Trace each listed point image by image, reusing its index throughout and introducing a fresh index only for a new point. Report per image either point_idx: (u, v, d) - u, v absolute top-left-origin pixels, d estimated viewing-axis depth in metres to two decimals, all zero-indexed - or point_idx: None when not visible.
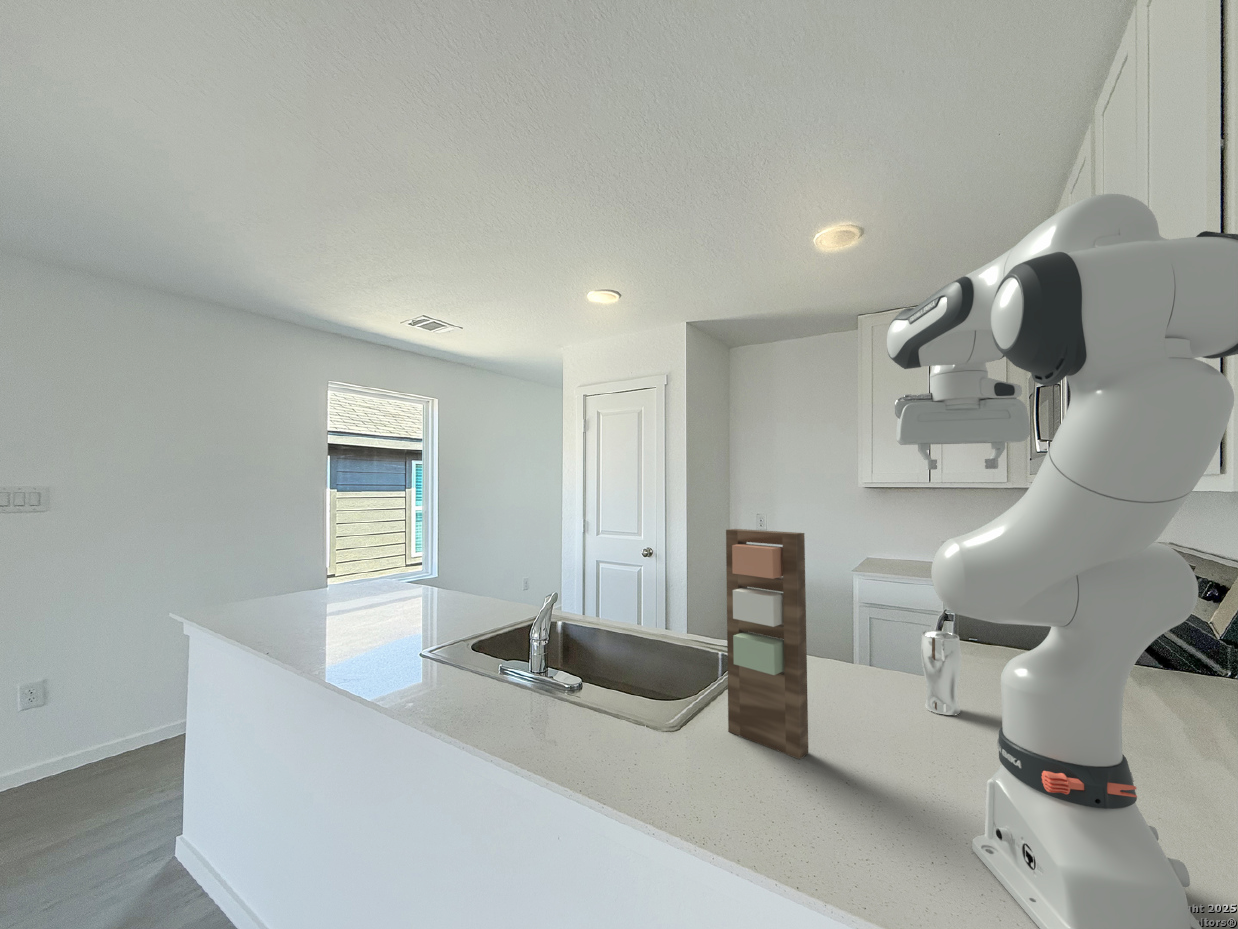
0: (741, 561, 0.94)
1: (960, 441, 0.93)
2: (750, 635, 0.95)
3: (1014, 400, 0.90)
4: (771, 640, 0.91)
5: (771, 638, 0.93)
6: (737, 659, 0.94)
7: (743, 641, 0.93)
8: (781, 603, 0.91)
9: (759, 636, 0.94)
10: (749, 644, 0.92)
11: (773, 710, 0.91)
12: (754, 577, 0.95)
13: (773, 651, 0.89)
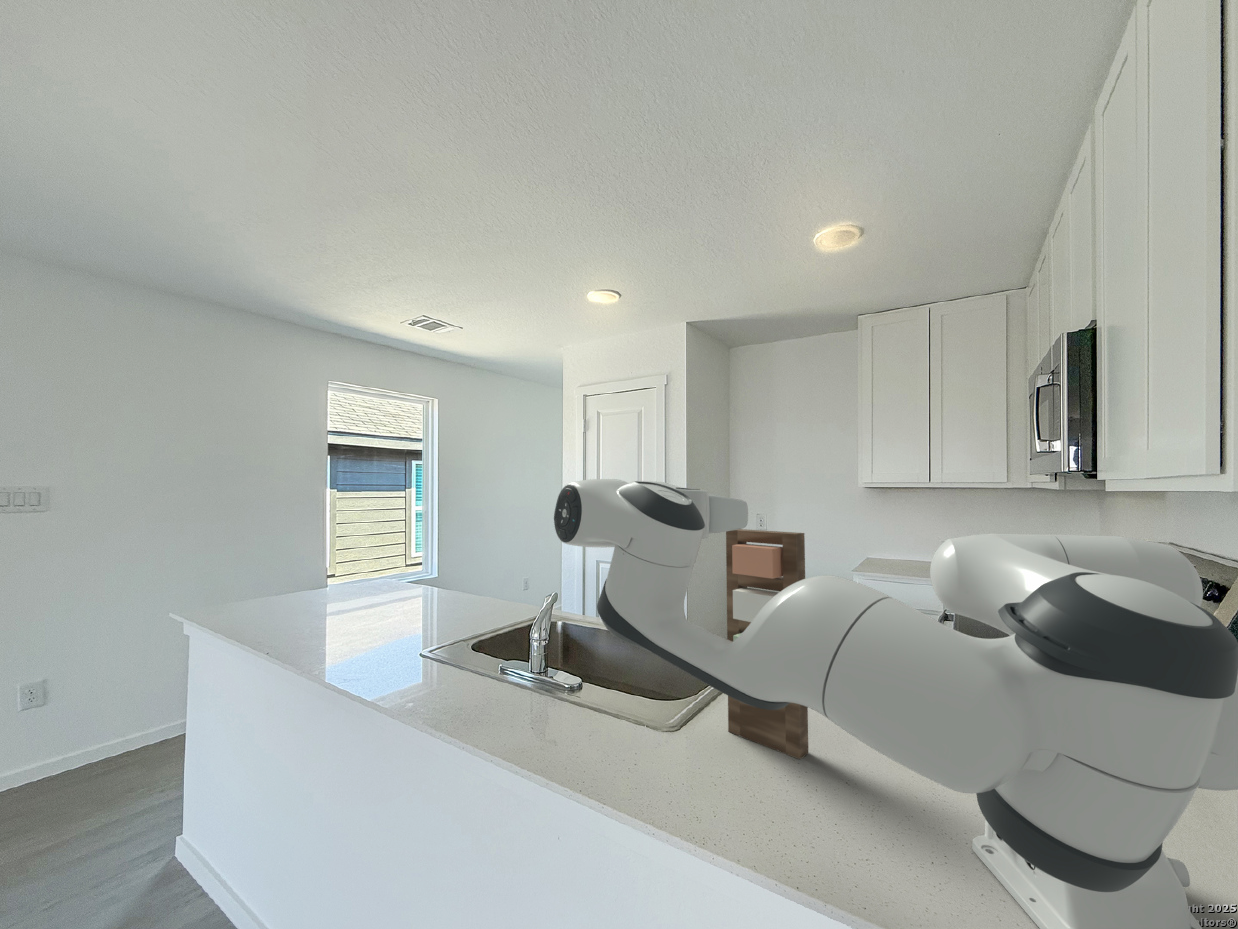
0: (741, 561, 0.94)
1: None
2: None
3: None
4: None
5: None
6: None
7: None
8: None
9: None
10: None
11: (773, 710, 0.91)
12: (754, 577, 0.95)
13: None
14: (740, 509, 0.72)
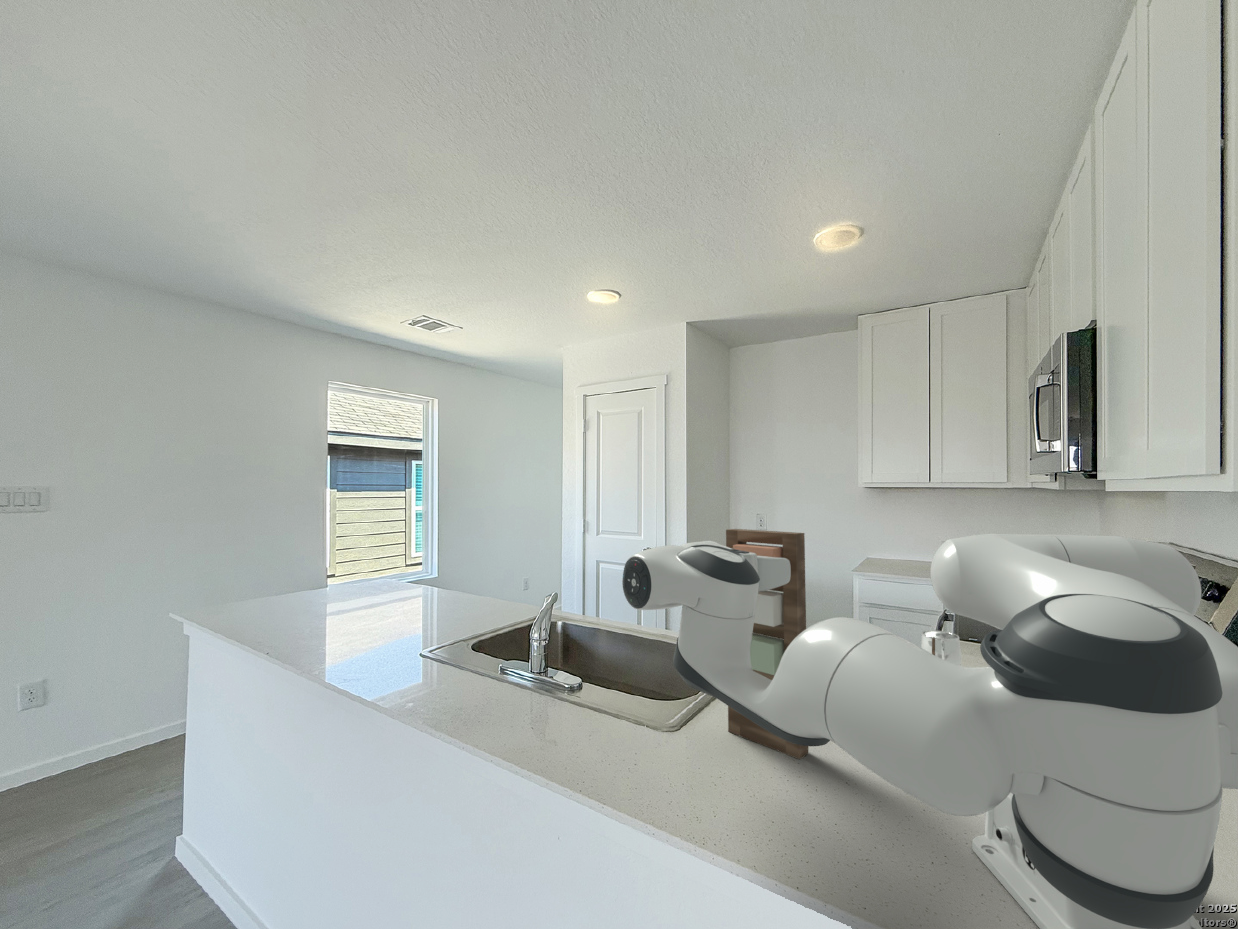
0: None
1: None
2: None
3: None
4: (771, 640, 0.91)
5: (771, 638, 0.93)
6: None
7: None
8: (781, 603, 0.91)
9: (759, 636, 0.94)
10: None
11: None
12: None
13: (773, 651, 0.89)
14: (784, 567, 0.80)
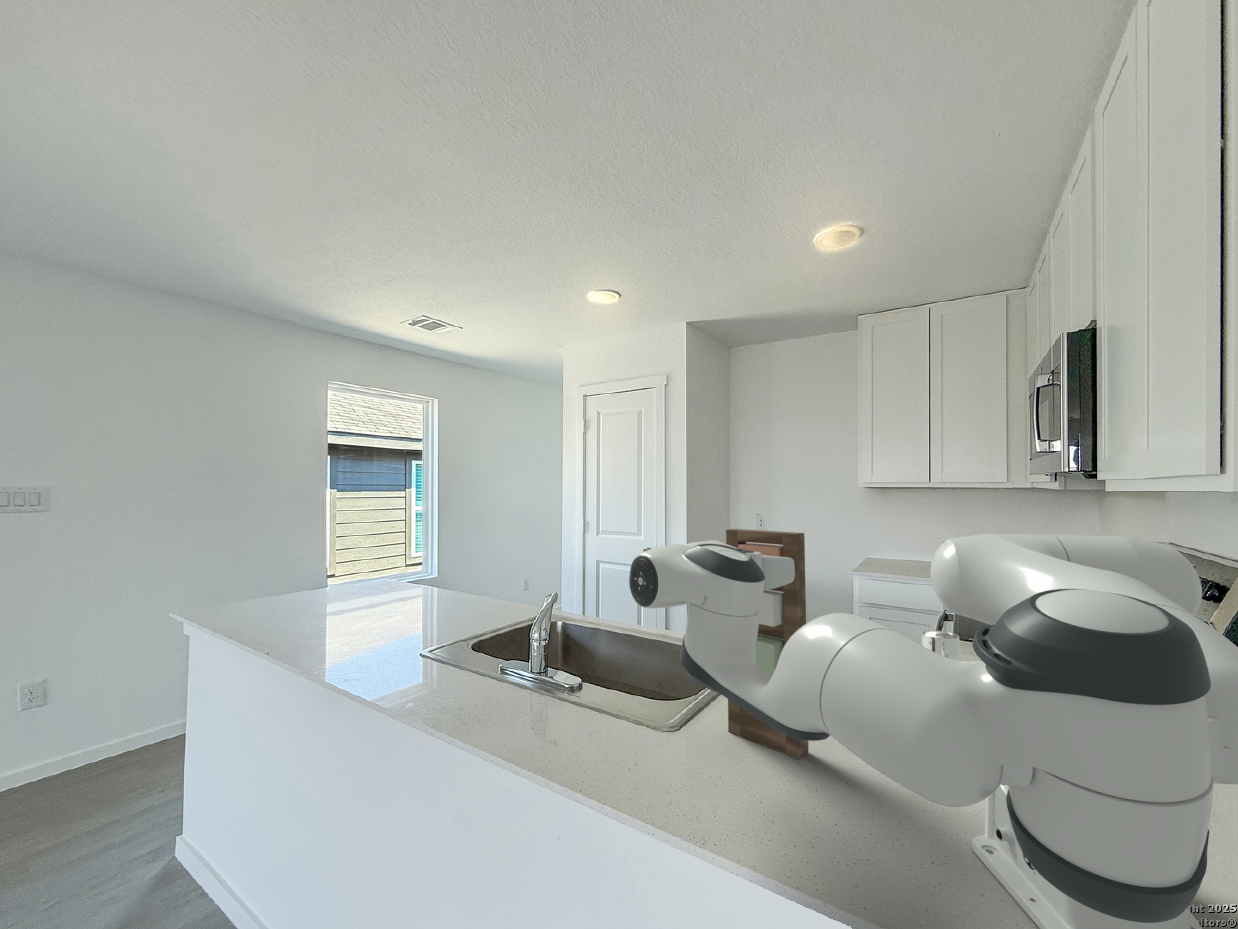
0: None
1: None
2: None
3: None
4: (771, 640, 0.91)
5: (771, 638, 0.93)
6: None
7: None
8: (781, 603, 0.91)
9: (759, 636, 0.94)
10: None
11: None
12: None
13: (773, 651, 0.89)
14: (788, 566, 0.81)
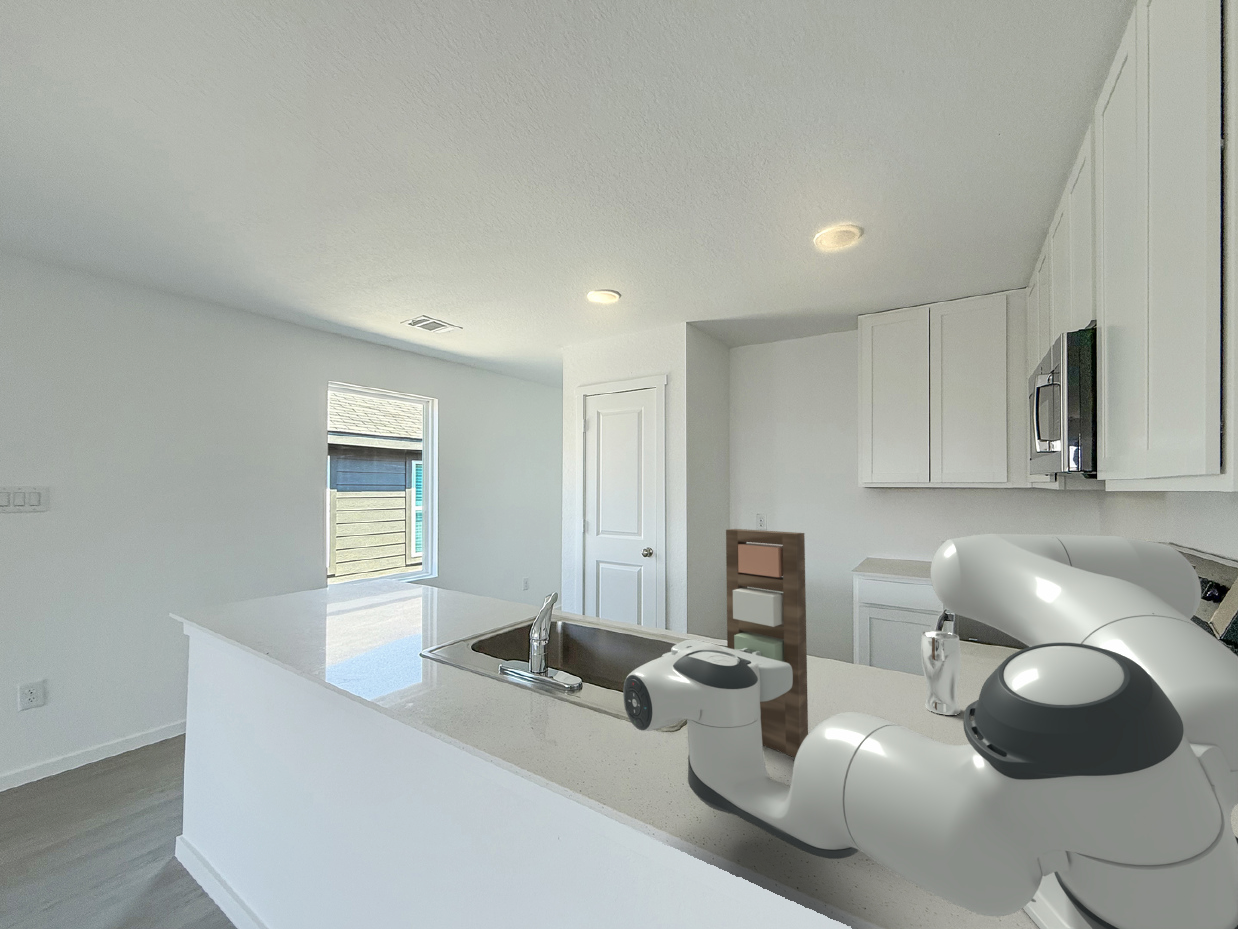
0: (747, 560, 0.95)
1: None
2: (751, 635, 0.95)
3: None
4: (772, 640, 0.92)
5: (772, 638, 0.93)
6: None
7: (744, 641, 0.93)
8: (781, 603, 0.91)
9: (760, 636, 0.94)
10: (750, 644, 0.92)
11: (773, 710, 0.91)
12: (754, 577, 0.95)
13: (774, 651, 0.89)
14: (786, 675, 0.80)
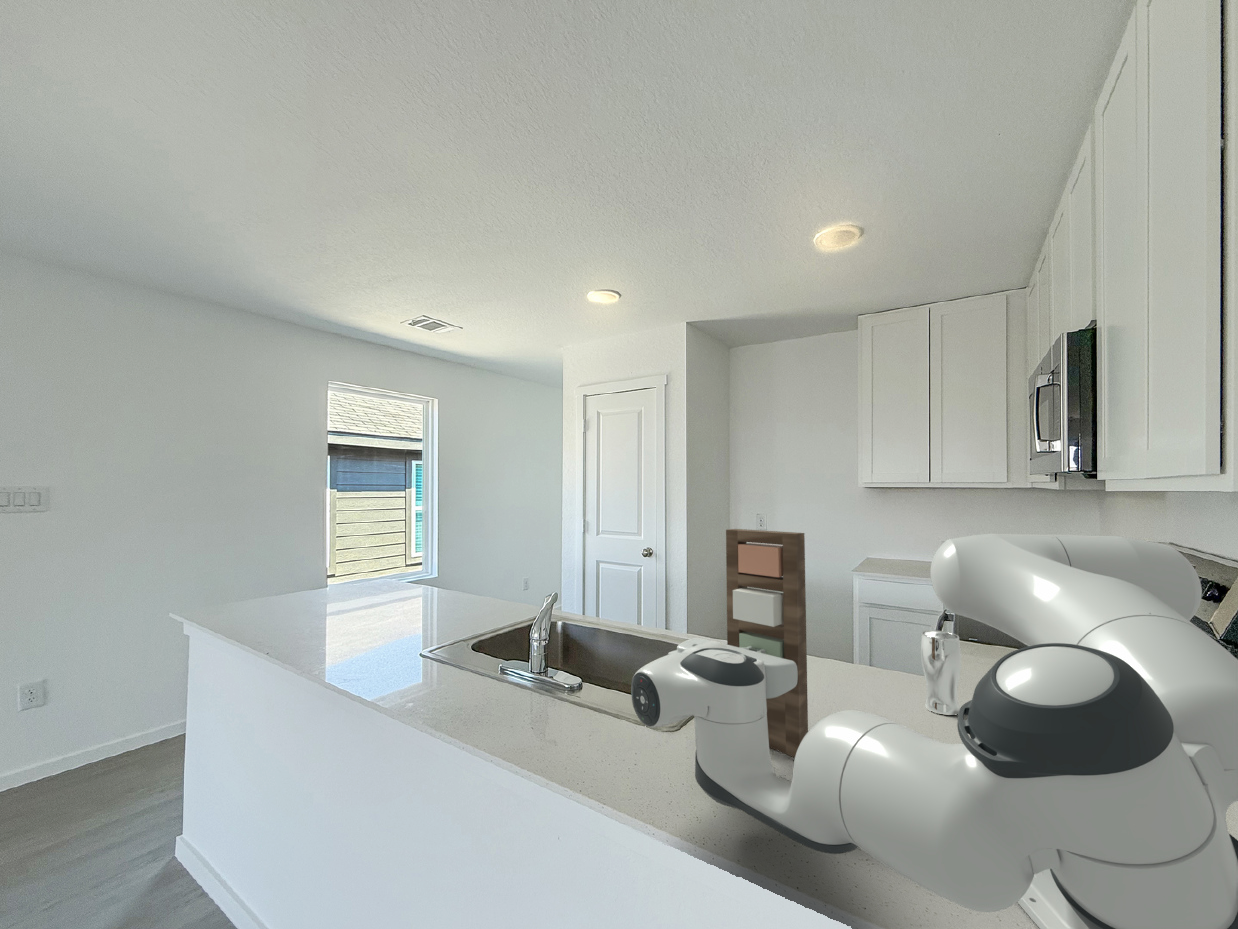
0: (747, 560, 0.95)
1: None
2: None
3: None
4: (776, 638, 0.93)
5: None
6: None
7: (749, 639, 0.94)
8: (781, 603, 0.91)
9: None
10: (755, 642, 0.93)
11: (773, 710, 0.91)
12: (754, 577, 0.95)
13: (779, 649, 0.90)
14: (791, 672, 0.81)
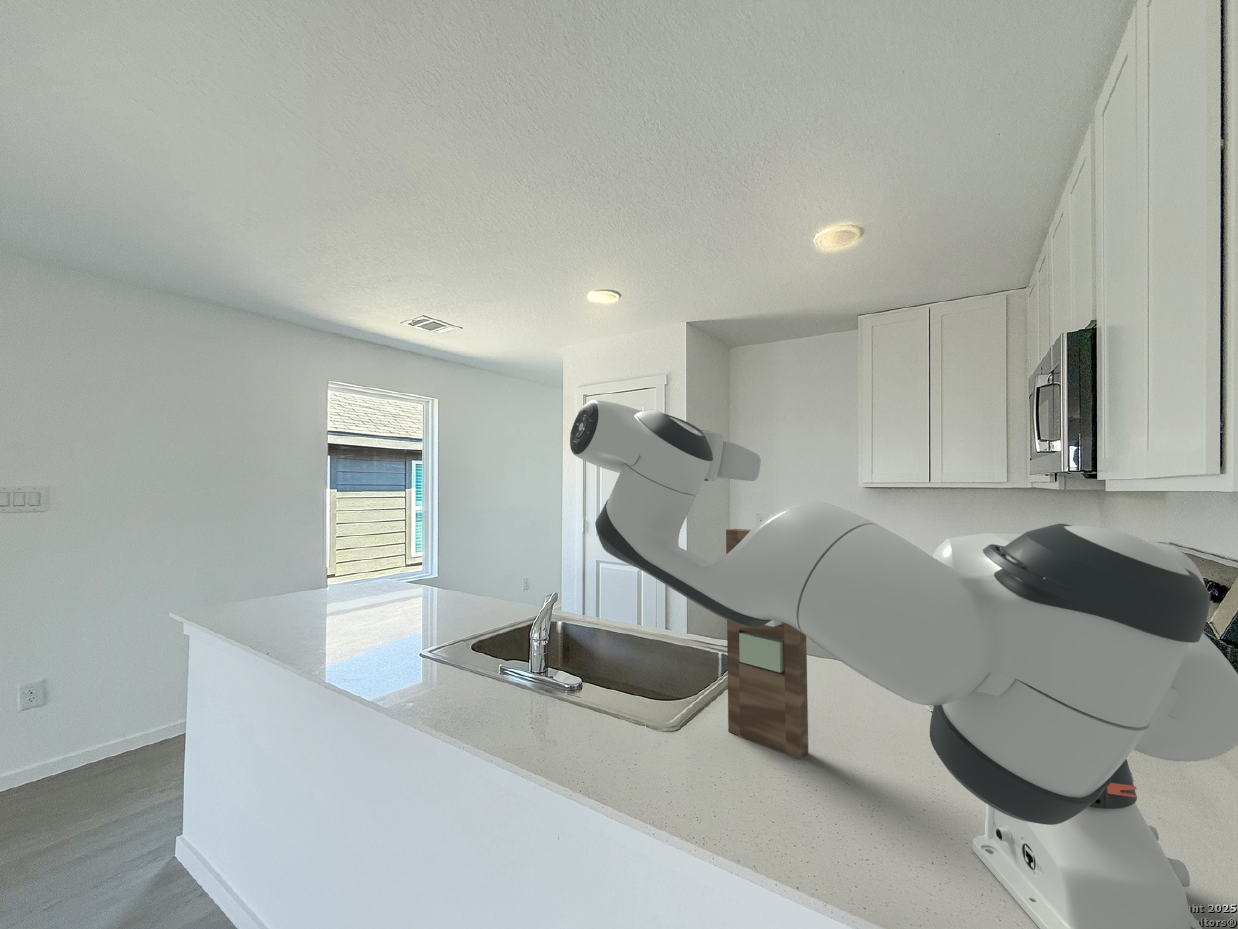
0: None
1: None
2: None
3: None
4: (776, 638, 0.93)
5: None
6: (743, 657, 0.95)
7: (749, 639, 0.94)
8: None
9: None
10: (755, 642, 0.93)
11: (773, 710, 0.91)
12: None
13: (779, 649, 0.90)
14: (753, 460, 0.73)
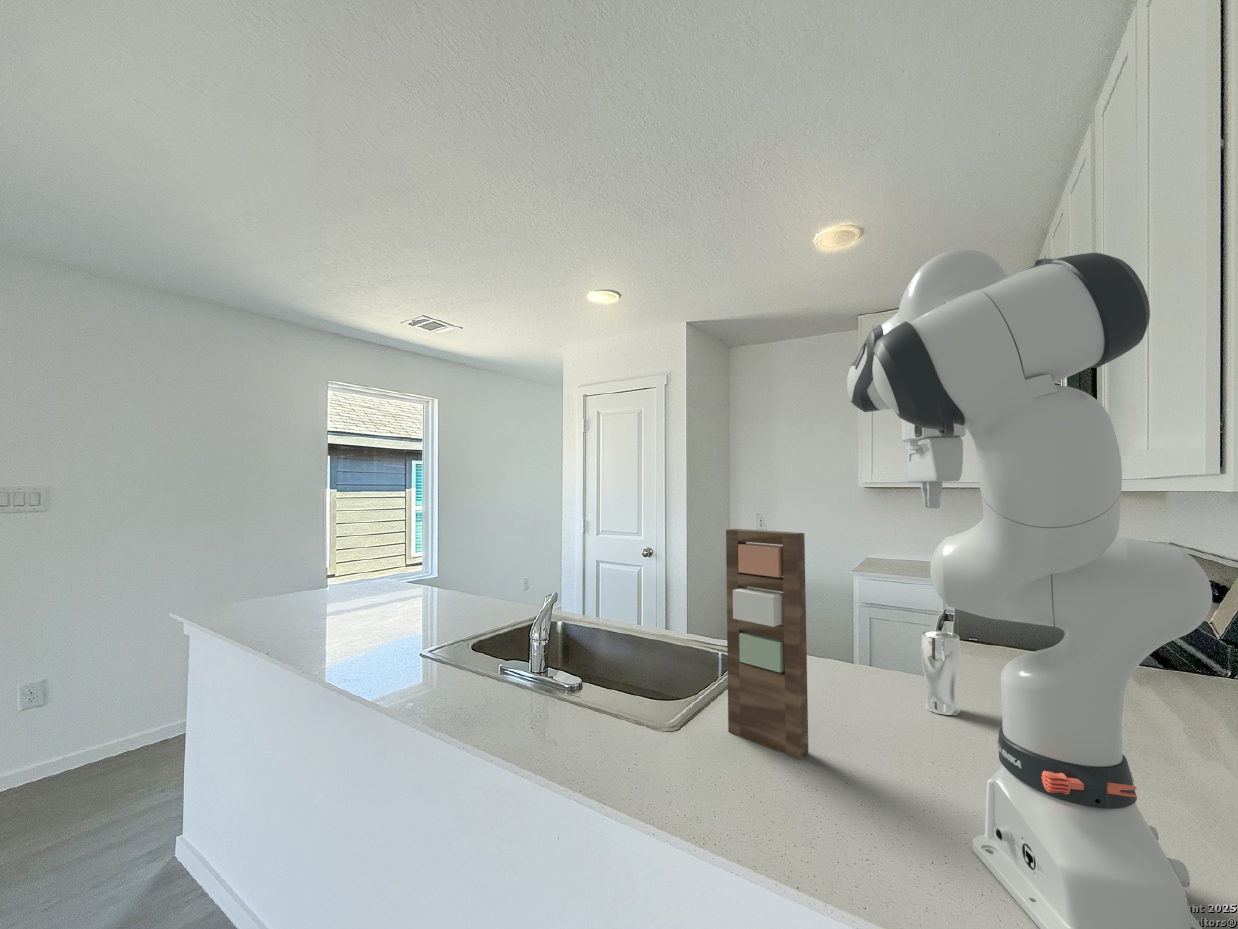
0: (747, 560, 0.95)
1: (920, 481, 0.96)
2: None
3: (925, 440, 0.89)
4: (776, 638, 0.93)
5: None
6: (743, 657, 0.95)
7: (749, 639, 0.94)
8: (781, 603, 0.91)
9: None
10: (755, 642, 0.93)
11: (773, 710, 0.91)
12: (754, 577, 0.95)
13: (779, 649, 0.90)
14: (953, 465, 0.85)
